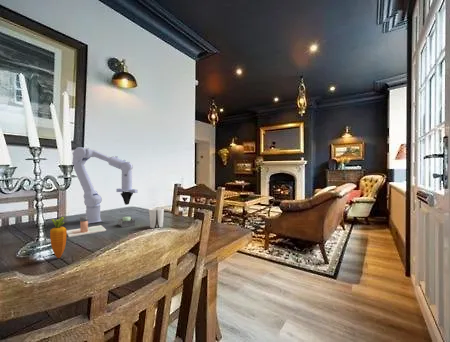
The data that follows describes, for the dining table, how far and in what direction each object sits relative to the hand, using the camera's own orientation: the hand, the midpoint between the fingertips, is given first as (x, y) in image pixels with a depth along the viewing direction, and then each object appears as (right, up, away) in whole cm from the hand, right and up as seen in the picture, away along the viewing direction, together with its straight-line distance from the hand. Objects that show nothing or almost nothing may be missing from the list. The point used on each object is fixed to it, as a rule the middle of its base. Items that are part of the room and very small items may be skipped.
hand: (126, 204), depth 138 cm
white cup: (+22, -11, -13) cm, 27 cm away
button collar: (+4, -10, -10) cm, 15 cm away
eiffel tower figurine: (+25, -12, -25) cm, 37 cm away
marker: (-11, -10, -25) cm, 29 cm away
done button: (+4, -10, -9) cm, 14 cm away
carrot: (-1, -12, -55) cm, 56 cm away
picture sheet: (-11, -11, -22) cm, 27 cm away
